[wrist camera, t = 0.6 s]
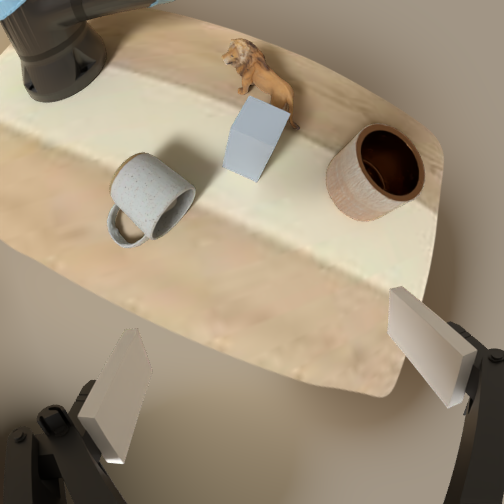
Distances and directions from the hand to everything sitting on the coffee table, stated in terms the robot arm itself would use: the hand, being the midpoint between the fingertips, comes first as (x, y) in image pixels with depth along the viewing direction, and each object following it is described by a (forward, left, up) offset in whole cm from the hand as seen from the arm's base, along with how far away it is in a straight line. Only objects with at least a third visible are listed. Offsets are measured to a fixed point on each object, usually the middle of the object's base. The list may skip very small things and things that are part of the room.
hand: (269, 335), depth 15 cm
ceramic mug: (-14, -7, -23) cm, 28 cm away
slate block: (-19, +7, -23) cm, 31 cm away
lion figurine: (-29, +10, -23) cm, 39 cm away
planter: (-14, +22, -23) cm, 35 cm away
